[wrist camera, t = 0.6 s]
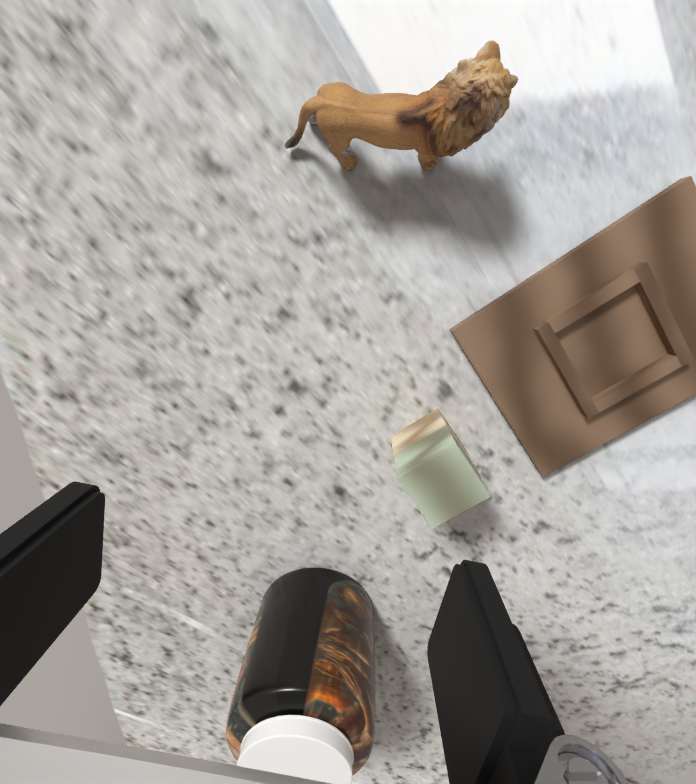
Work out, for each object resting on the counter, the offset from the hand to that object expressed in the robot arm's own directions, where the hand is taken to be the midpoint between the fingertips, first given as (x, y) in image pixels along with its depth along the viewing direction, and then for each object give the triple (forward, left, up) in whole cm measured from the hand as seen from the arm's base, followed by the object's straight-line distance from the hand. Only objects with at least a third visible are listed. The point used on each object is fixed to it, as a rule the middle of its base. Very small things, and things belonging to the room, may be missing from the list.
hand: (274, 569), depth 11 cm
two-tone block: (-2, +11, -27) cm, 29 cm away
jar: (+18, +21, -27) cm, 39 cm away
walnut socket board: (-19, +11, -27) cm, 35 cm away
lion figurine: (-13, -12, -27) cm, 32 cm away
